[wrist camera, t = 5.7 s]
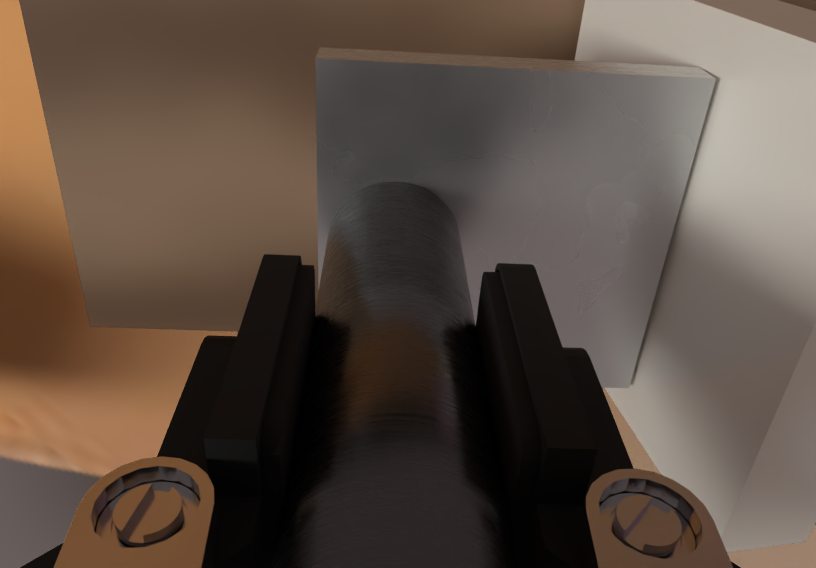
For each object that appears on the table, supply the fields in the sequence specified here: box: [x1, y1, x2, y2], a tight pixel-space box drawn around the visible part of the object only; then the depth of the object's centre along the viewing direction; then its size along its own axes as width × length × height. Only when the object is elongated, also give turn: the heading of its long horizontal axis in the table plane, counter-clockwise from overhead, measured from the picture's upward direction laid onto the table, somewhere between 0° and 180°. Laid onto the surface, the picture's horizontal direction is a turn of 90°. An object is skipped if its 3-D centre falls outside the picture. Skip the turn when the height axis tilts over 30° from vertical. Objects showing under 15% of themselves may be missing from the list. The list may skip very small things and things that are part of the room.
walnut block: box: [19, 0, 816, 331], centre depth 25 cm, size 14×28×12 cm, turn 87°
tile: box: [574, 0, 816, 553], centre depth 15 cm, size 9×2×10 cm, turn 177°
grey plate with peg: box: [271, 47, 716, 568], centre depth 10 cm, size 7×7×11 cm
